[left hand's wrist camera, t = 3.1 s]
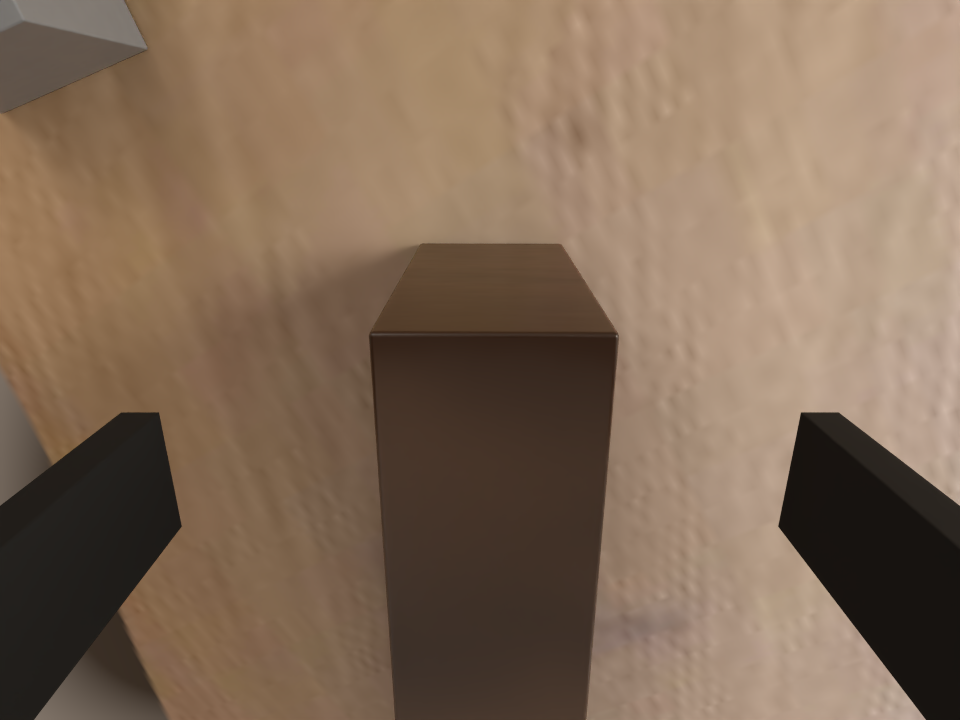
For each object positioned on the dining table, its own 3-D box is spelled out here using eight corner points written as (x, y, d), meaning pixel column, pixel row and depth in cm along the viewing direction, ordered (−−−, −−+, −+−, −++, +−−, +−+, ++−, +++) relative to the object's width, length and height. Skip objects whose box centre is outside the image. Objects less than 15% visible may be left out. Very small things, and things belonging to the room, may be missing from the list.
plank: (419, 243, 19) (367, 332, 11) (562, 243, 19) (620, 333, 11) (439, 799, 29) (419, 1080, 20) (535, 800, 28) (555, 1082, 20)
